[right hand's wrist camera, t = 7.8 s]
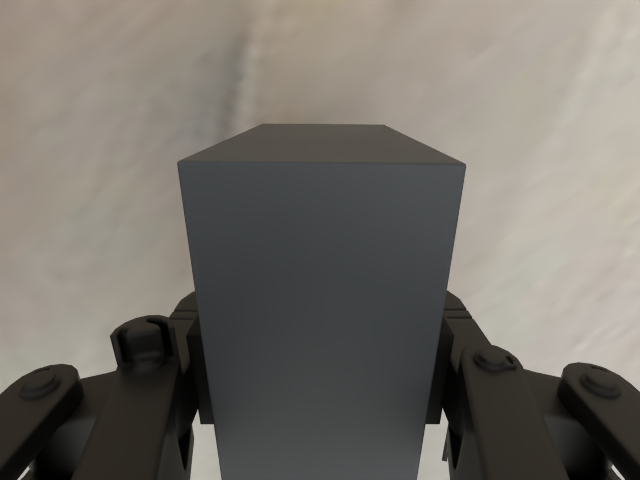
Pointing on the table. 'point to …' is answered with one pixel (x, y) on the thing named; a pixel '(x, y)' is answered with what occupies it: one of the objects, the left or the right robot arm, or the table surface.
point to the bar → (320, 295)
